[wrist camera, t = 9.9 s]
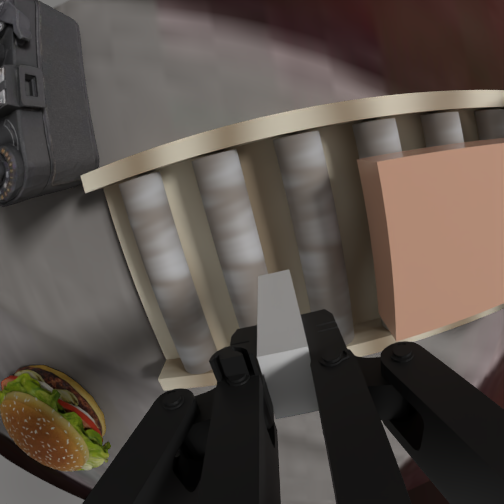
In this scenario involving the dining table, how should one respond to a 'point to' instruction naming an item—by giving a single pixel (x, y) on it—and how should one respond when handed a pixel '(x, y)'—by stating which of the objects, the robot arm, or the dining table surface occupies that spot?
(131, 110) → the dining table surface
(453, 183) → the slab
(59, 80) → the camera
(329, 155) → the roller bed
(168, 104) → the dining table surface
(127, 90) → the dining table surface
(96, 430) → the food
